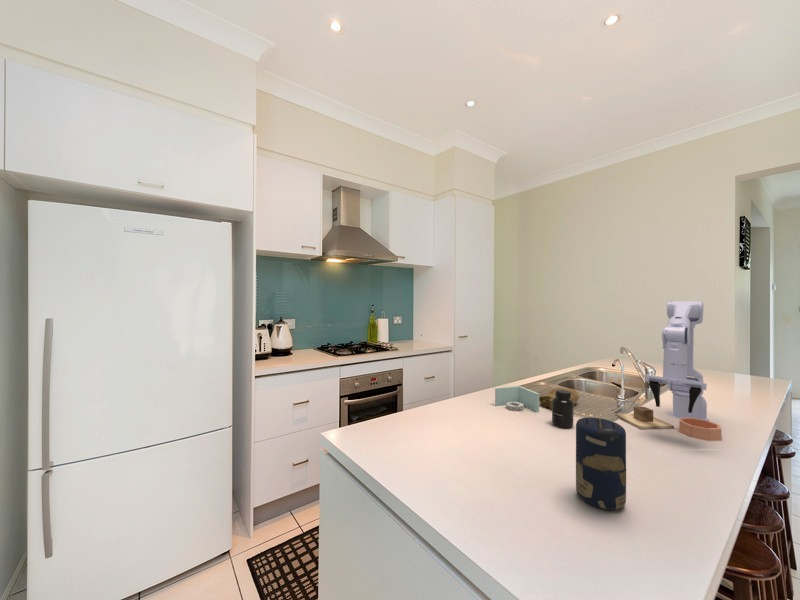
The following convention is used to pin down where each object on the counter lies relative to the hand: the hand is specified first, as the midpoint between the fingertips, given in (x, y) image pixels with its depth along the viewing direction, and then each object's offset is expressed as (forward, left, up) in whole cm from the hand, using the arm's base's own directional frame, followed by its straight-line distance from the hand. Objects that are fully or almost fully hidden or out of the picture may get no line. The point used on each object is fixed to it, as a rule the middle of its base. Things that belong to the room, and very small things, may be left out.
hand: (673, 409), depth 101 cm
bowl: (-14, -5, -11) cm, 19 cm away
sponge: (+14, -38, -11) cm, 42 cm away
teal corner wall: (+35, -34, -11) cm, 50 cm away
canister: (+42, +26, -11) cm, 50 cm away
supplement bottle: (+26, -16, -11) cm, 32 cm away
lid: (-4, -16, -10) cm, 20 cm away
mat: (-4, -16, -11) cm, 20 cm away
